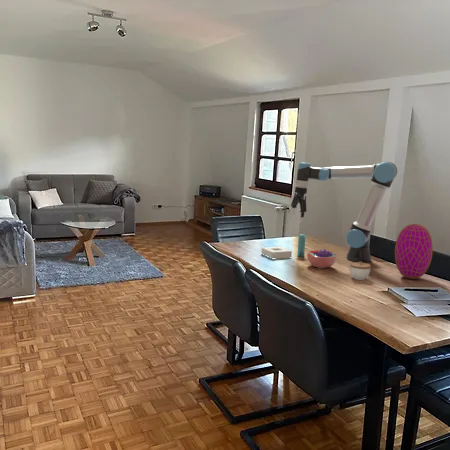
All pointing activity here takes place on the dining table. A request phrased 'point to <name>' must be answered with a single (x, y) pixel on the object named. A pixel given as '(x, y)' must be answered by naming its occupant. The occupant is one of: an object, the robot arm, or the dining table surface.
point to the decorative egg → (413, 251)
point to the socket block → (276, 252)
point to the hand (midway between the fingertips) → (296, 220)
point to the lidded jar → (360, 270)
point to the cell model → (321, 258)
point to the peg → (301, 245)
